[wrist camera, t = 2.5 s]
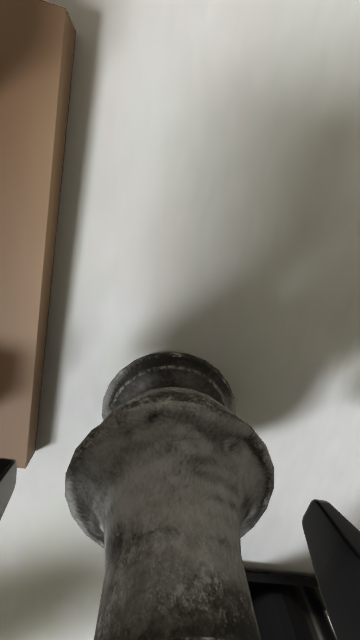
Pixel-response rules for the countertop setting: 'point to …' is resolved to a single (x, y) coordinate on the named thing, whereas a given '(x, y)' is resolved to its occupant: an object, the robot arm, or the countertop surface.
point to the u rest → (29, 202)
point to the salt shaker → (171, 502)
